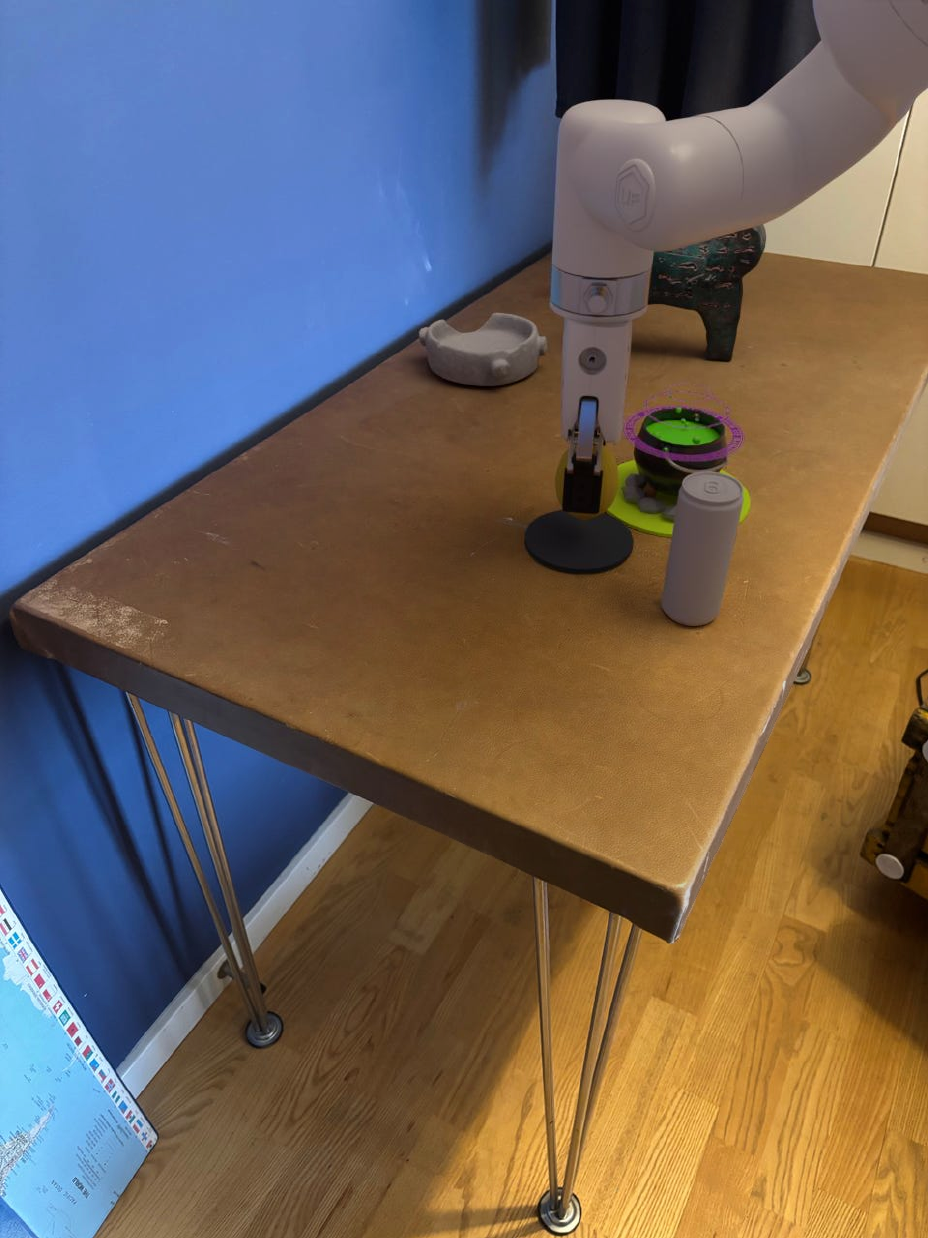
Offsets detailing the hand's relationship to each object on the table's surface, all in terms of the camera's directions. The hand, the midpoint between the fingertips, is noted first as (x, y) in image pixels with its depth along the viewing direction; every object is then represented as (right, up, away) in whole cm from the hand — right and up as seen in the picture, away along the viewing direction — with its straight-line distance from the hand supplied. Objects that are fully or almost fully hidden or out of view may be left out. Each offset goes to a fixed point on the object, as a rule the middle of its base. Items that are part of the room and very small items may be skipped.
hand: (582, 490), depth 81 cm
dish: (-8, +20, +34) cm, 41 cm away
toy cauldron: (+10, +1, +10) cm, 14 cm away
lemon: (0, -3, +2) cm, 3 cm away
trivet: (0, -4, +4) cm, 6 cm away
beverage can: (+8, -11, -5) cm, 14 cm away
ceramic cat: (+16, +23, +38) cm, 47 cm away
